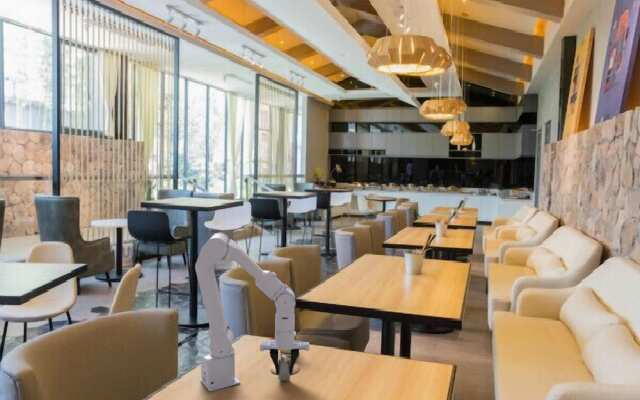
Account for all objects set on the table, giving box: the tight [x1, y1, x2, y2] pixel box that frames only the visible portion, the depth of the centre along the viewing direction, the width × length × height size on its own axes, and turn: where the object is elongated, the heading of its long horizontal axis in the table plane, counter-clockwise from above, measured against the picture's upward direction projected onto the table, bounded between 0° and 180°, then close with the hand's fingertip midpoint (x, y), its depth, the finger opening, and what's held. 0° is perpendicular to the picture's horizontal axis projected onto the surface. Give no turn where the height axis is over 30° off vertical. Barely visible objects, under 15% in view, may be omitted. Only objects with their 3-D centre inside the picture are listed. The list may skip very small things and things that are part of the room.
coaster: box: [269, 361, 300, 375], centre depth 158 cm, size 9×9×1 cm
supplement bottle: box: [279, 330, 297, 357], centre depth 170 cm, size 5×5×10 cm
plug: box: [278, 354, 291, 382], centre depth 150 cm, size 3×3×7 cm
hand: (284, 373), depth 150 cm, fingers closed on plug, 3 cm apart
